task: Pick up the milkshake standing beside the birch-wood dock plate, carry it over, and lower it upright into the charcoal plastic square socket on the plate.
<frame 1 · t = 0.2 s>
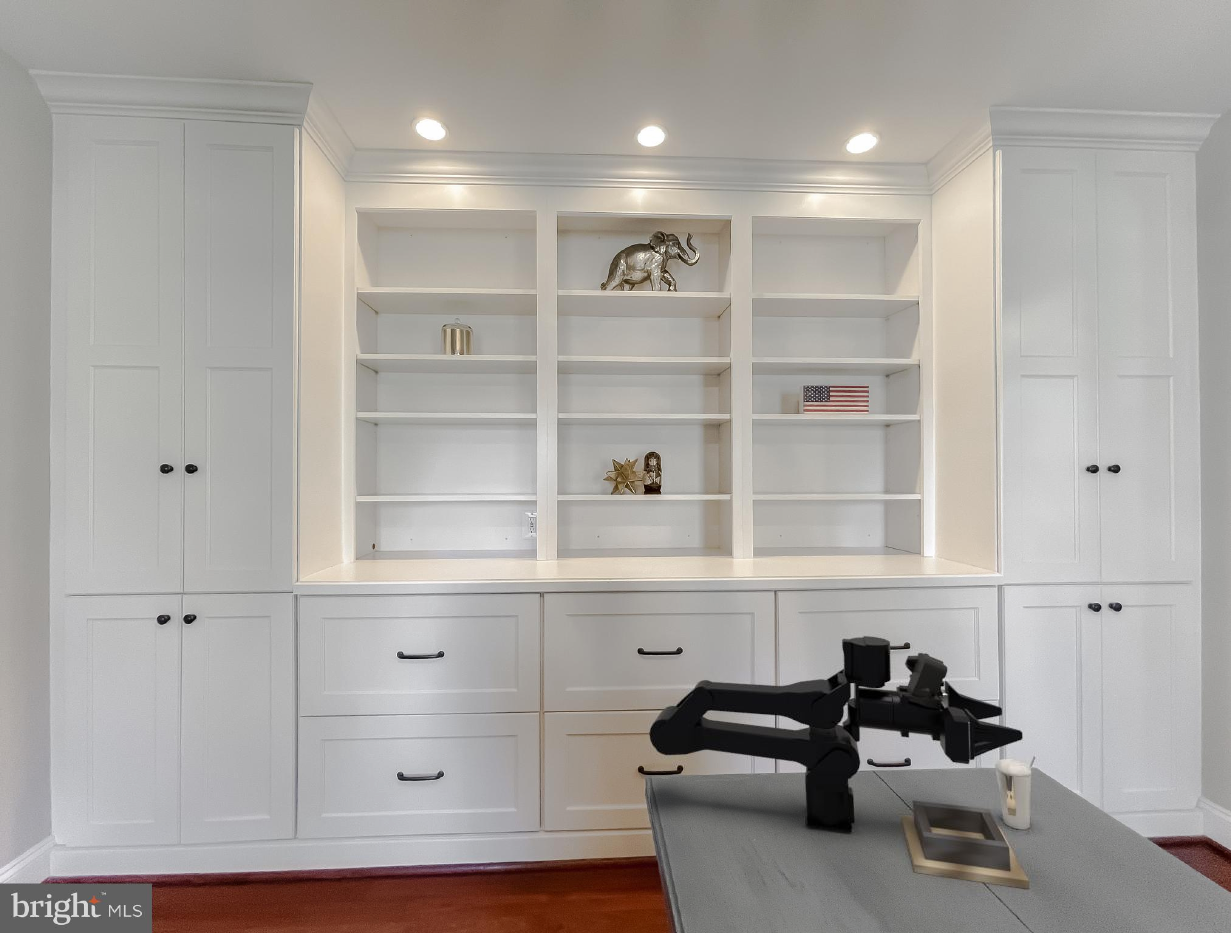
hand: (1011, 722, 86), 17 cm above the table, tool horizontal, fingers open, 9 cm apart
milkshake: (1019, 825, 90), on the table
dock: (959, 851, 84), on the table
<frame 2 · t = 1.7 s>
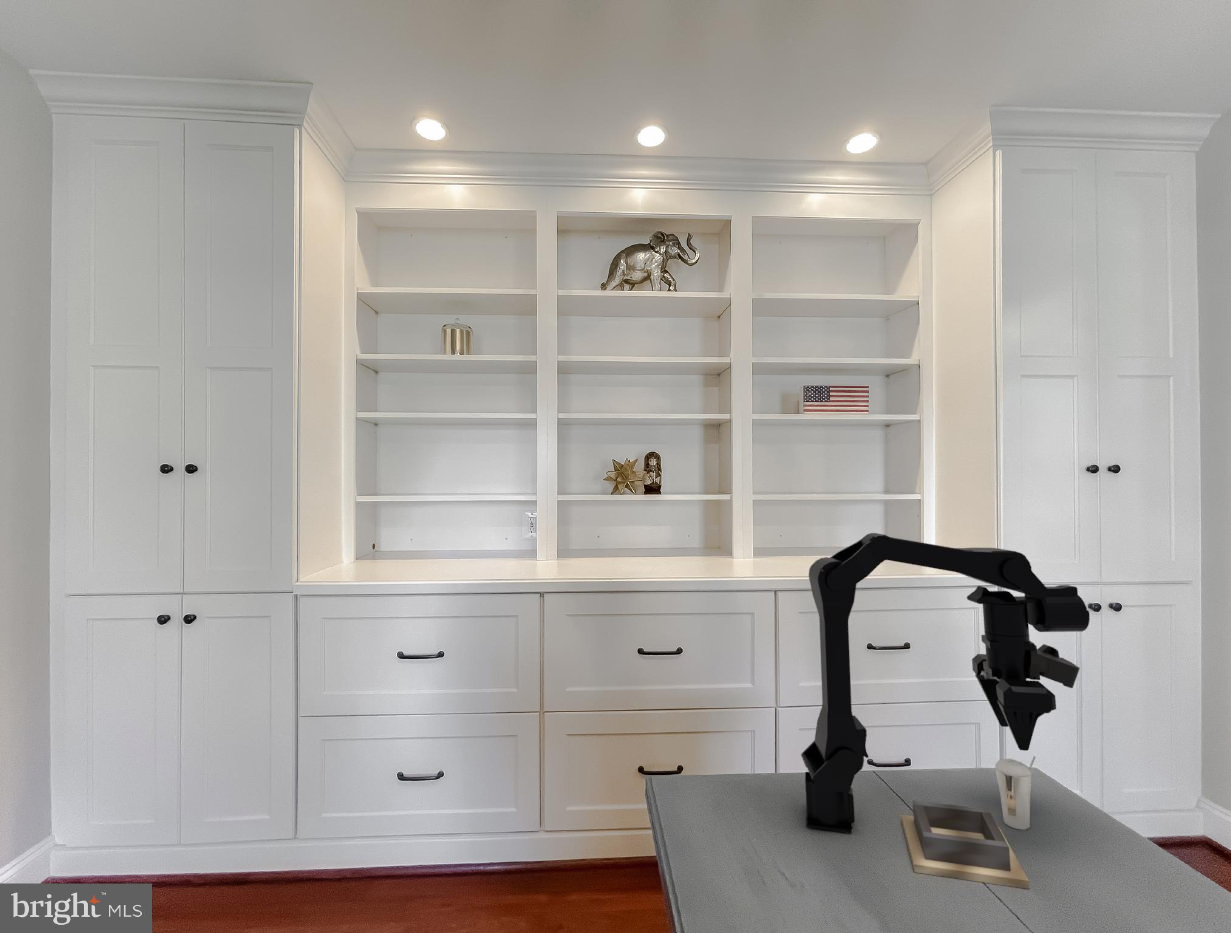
hand: (1013, 737, 91), 13 cm above the table, tool pointing down, fingers open, 9 cm apart
nothing on the table moved.
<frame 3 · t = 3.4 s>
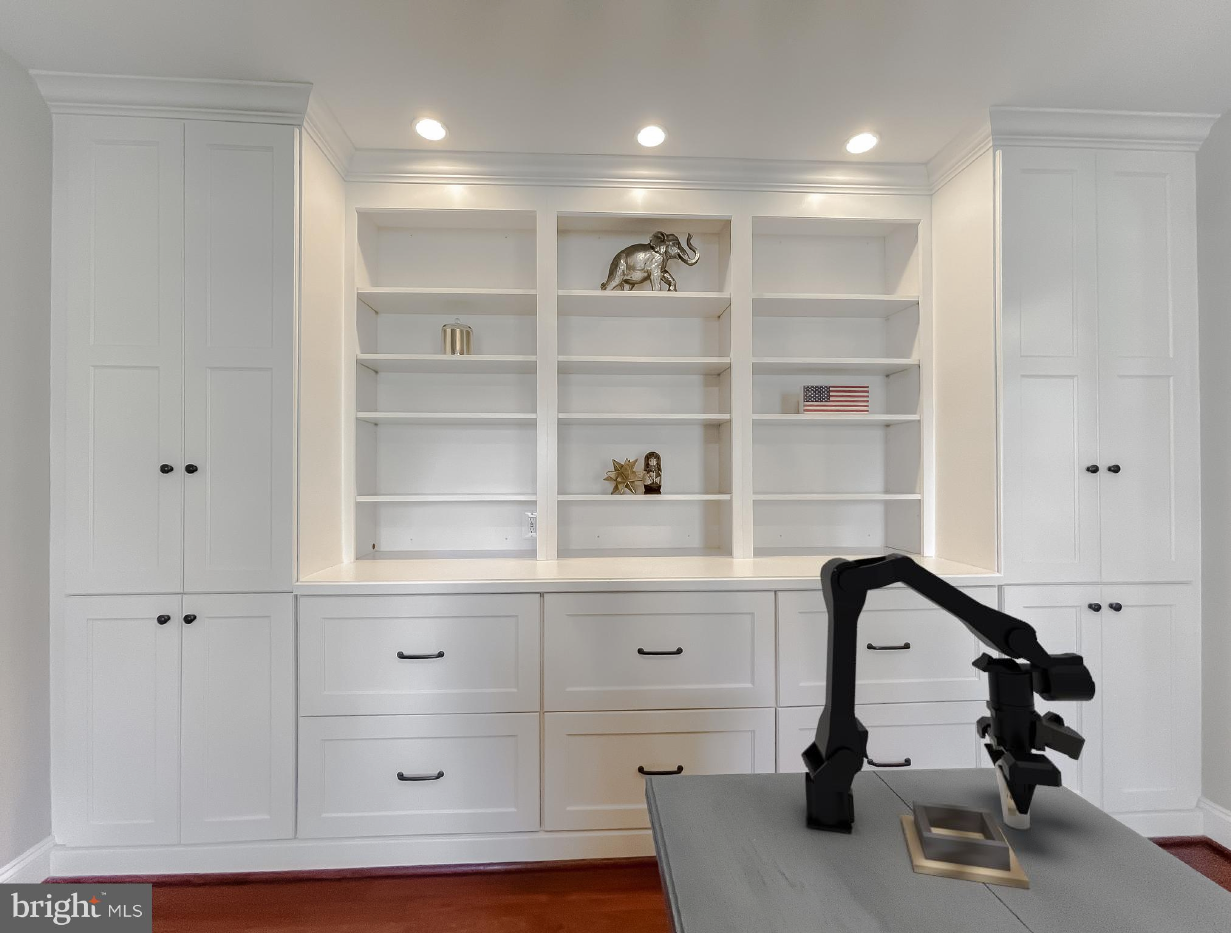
hand: (1018, 806, 90), 3 cm above the table, tool pointing down, fingers closed on milkshake, 4 cm apart
milkshake: (1019, 825, 90), on the table, touching gripper
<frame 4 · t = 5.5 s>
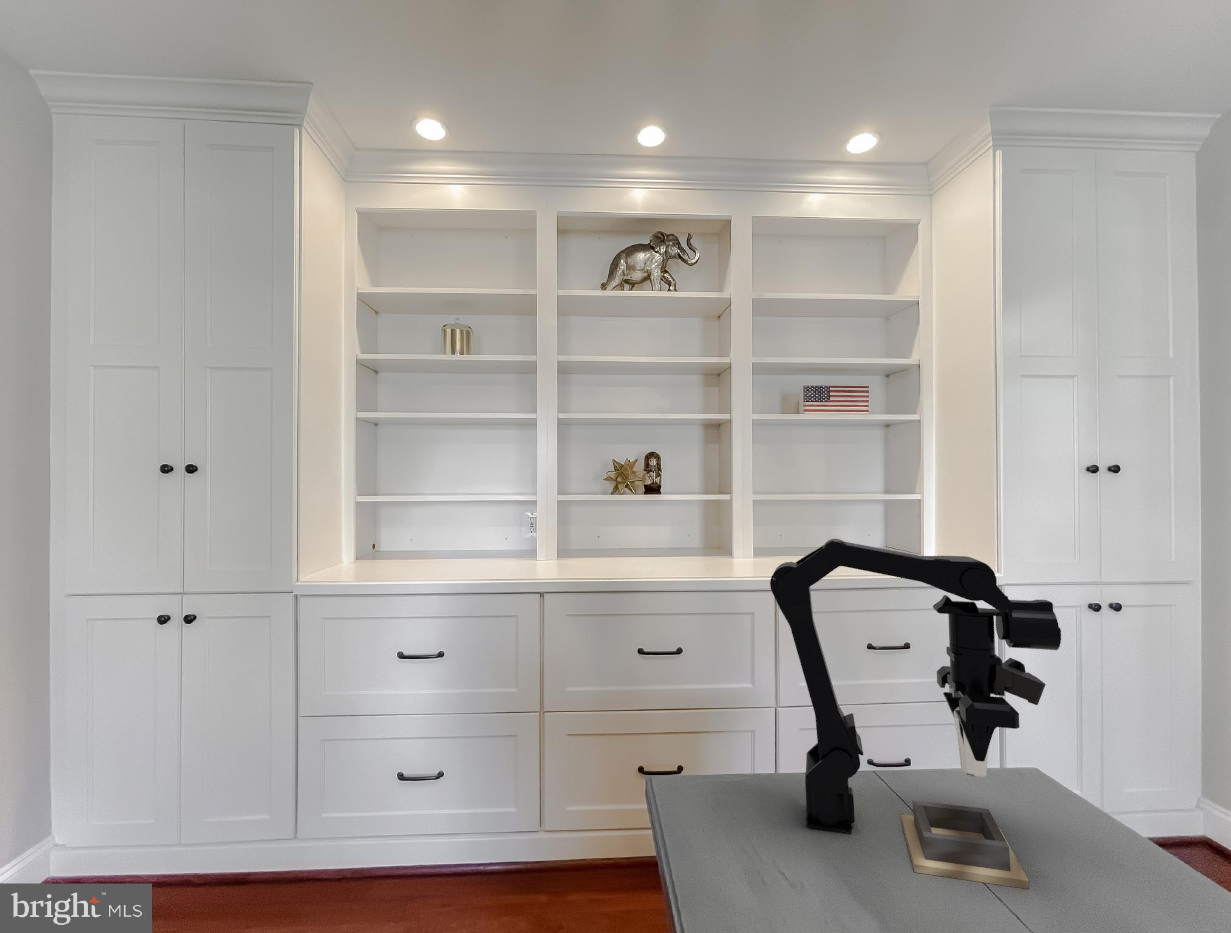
hand: (975, 754, 87), 12 cm above the table, tool pointing down, fingers closed on milkshake, 4 cm apart
milkshake: (976, 773, 87), point 9 cm above the table, touching gripper
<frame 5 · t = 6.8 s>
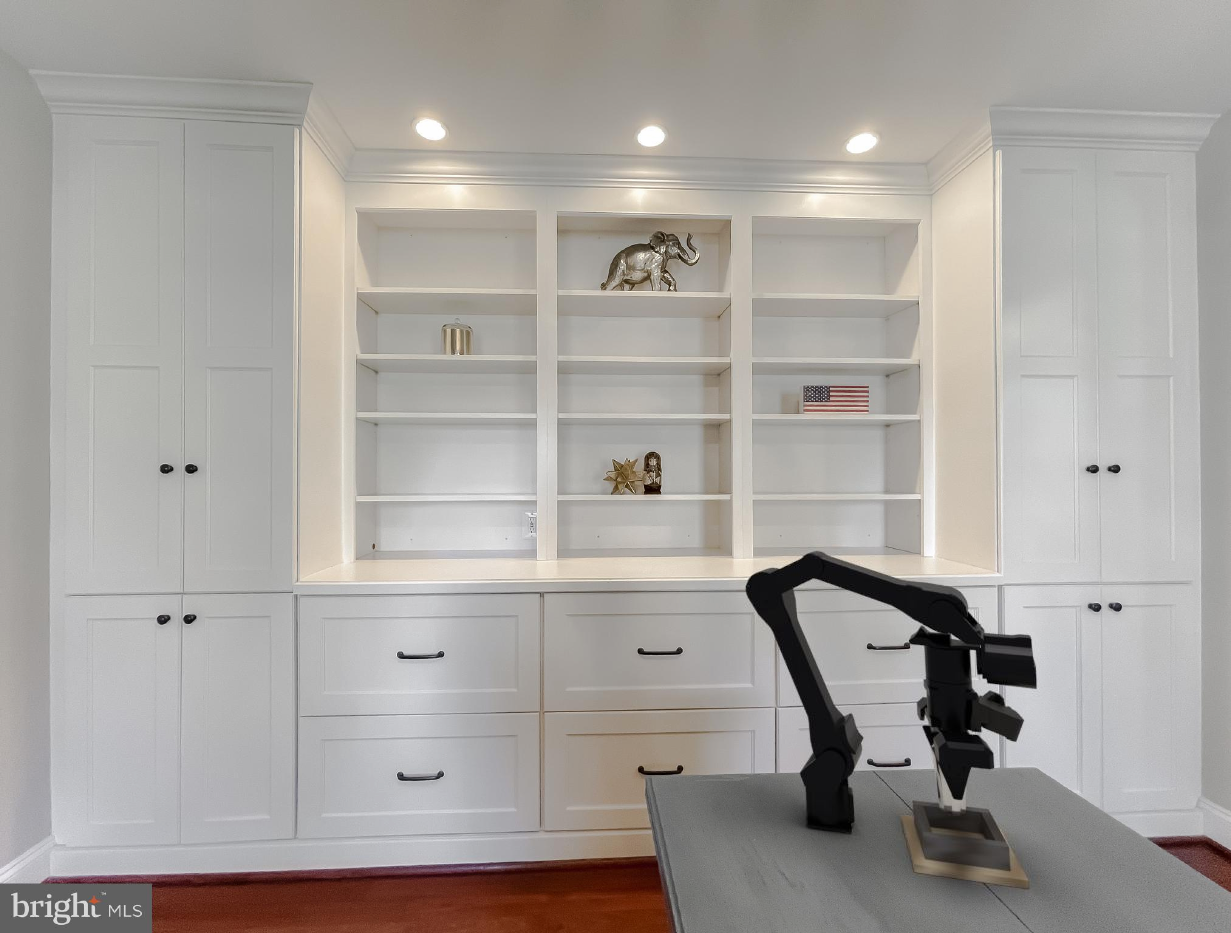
hand: (954, 792, 84), 8 cm above the table, tool pointing down, fingers closed on milkshake, 4 cm apart
milkshake: (955, 812, 84), point 5 cm above the table, touching gripper
when the fingers open (5 cm above the table, at t = 7.7 s): milkshake drops 2 cm, resting on dock.
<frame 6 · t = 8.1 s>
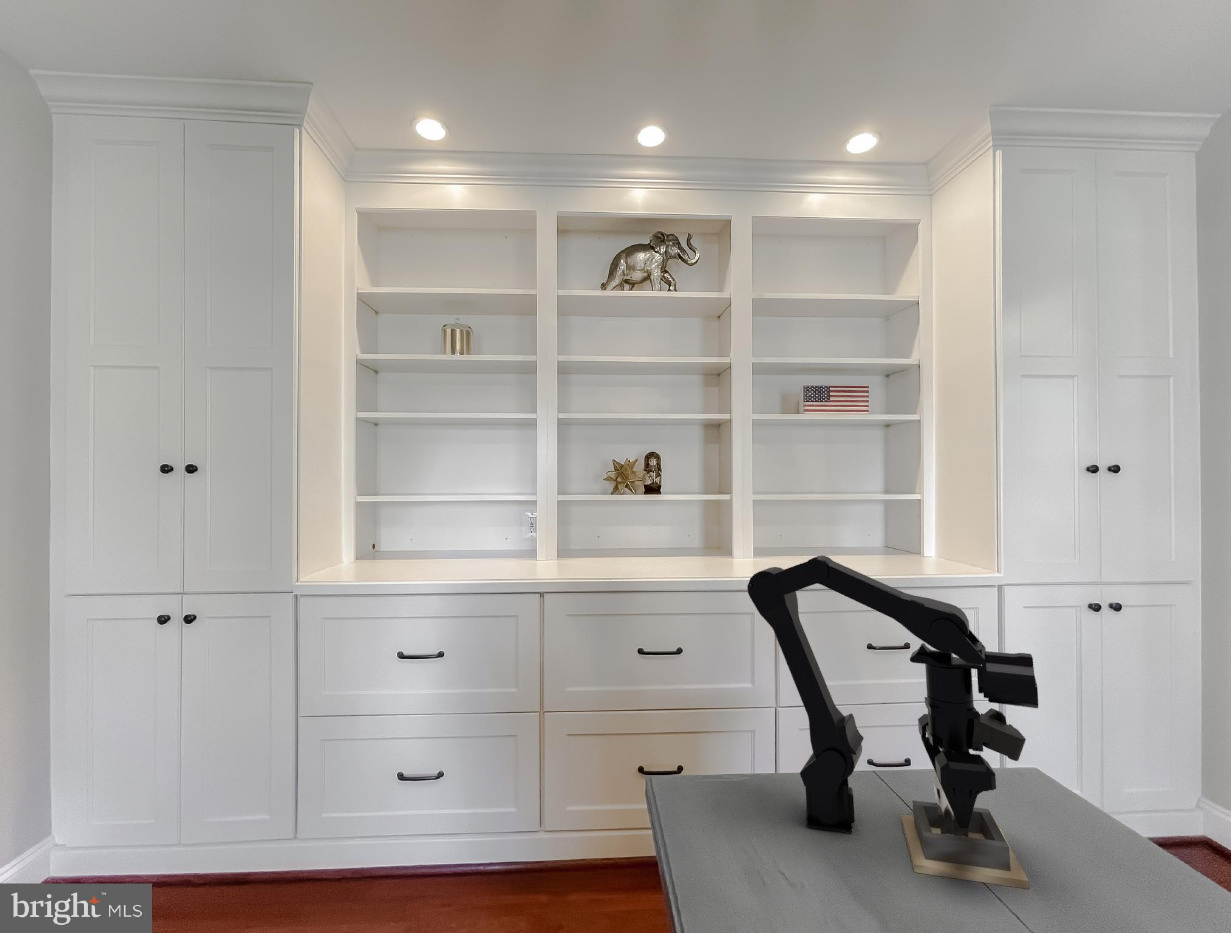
hand: (956, 811, 84), 5 cm above the table, tool pointing down, fingers open, 8 cm apart
milkshake: (958, 846, 84), point 1 cm above the table, touching dock
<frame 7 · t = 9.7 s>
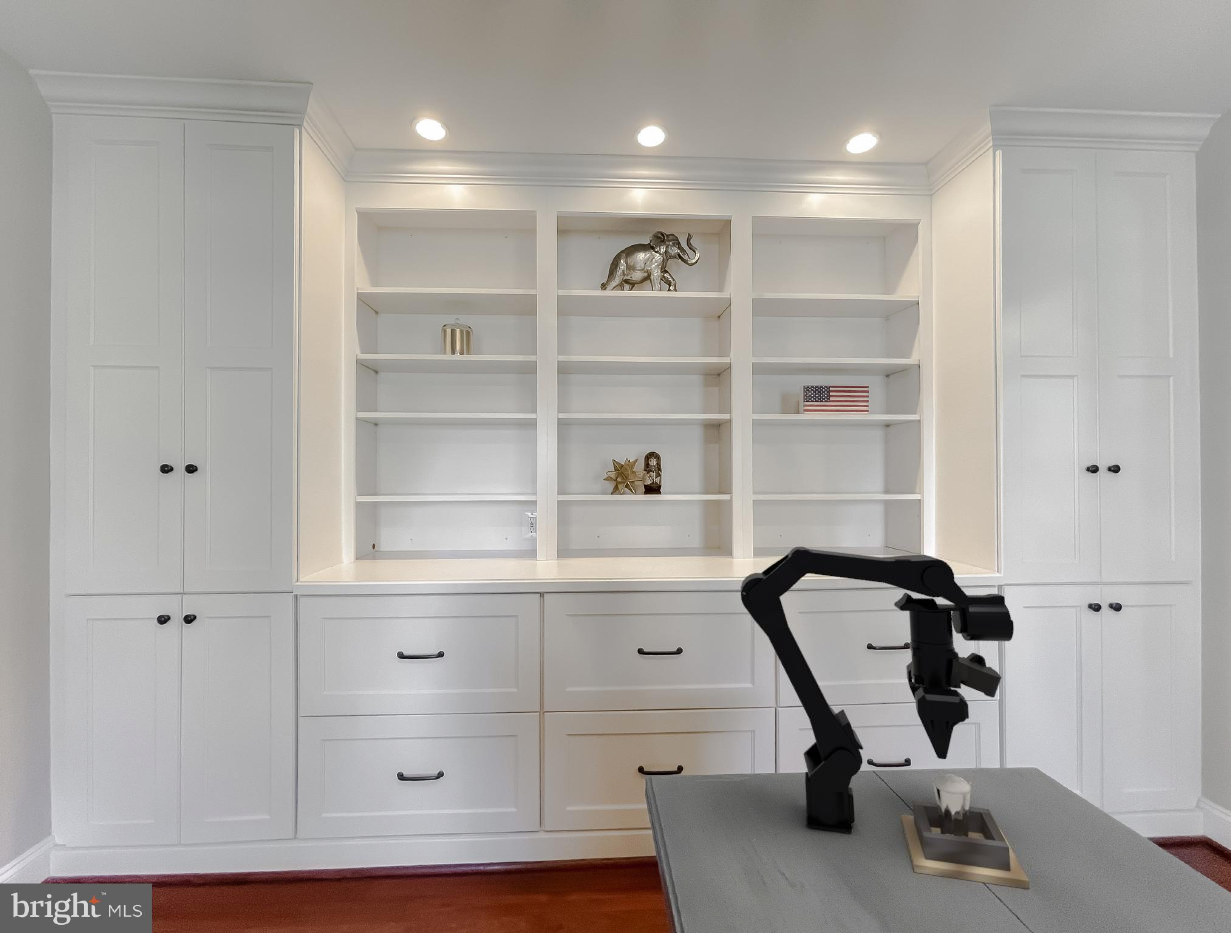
hand: (937, 745, 90), 12 cm above the table, tool pointing down, fingers open, 9 cm apart
nothing on the table moved.
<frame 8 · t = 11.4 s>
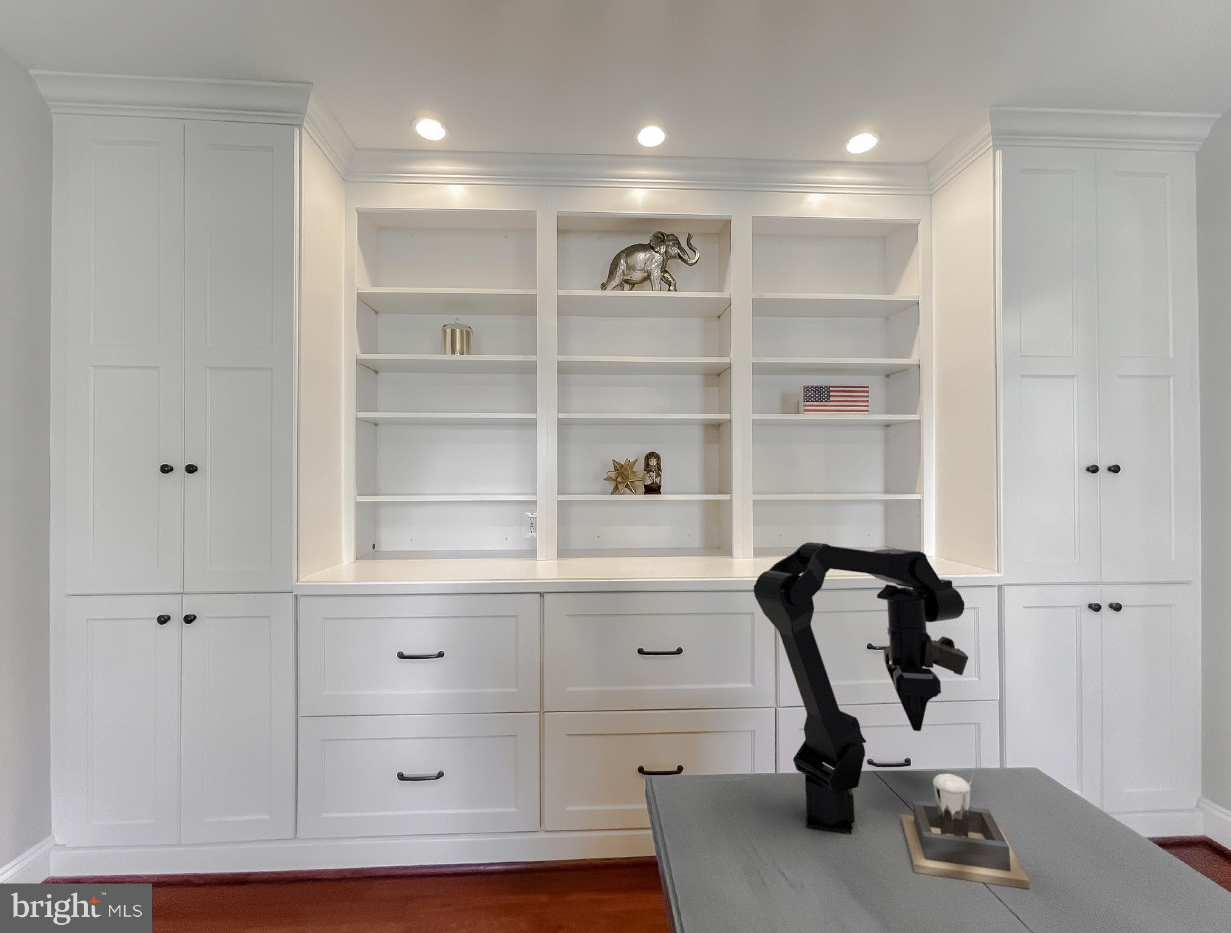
hand: (912, 720, 100), 12 cm above the table, tool pointing down, fingers open, 9 cm apart
nothing on the table moved.
at the end: milkshake 0.1 cm off-centre on the dock, point 0.8 cm above the dock's base; milkshake tilted 0°; the gripper is holding nothing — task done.
